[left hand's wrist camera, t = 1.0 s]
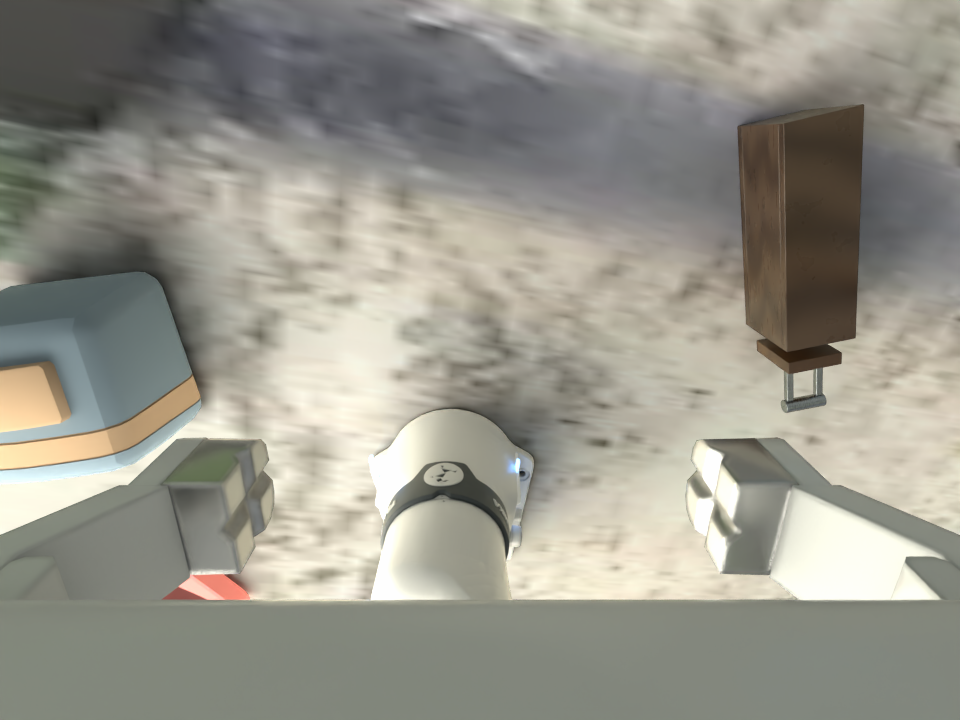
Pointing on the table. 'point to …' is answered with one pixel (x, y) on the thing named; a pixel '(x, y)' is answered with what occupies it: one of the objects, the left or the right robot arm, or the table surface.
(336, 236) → the table surface
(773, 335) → the cabinet
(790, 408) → the drawer
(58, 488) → the table surface
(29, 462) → the alarm clock
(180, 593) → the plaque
